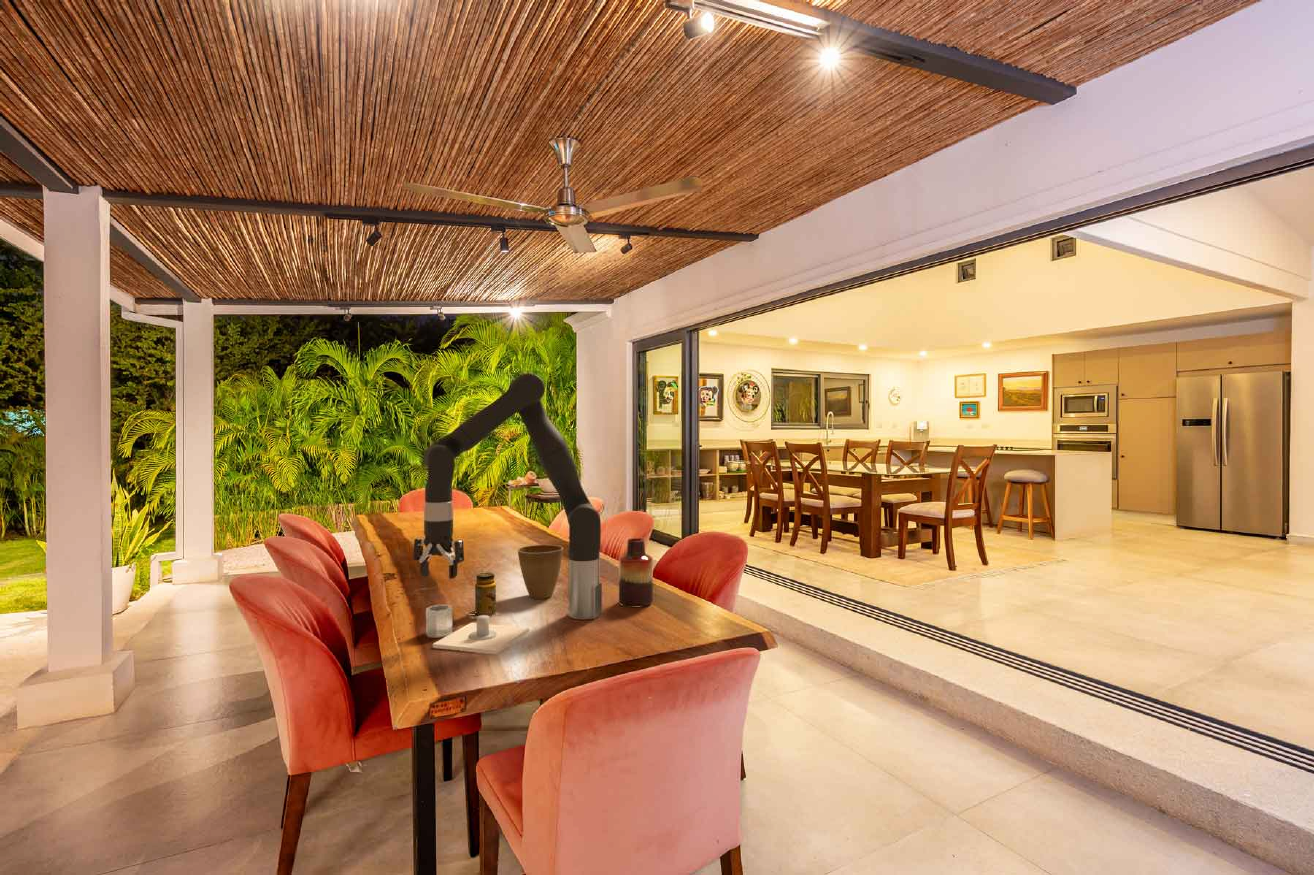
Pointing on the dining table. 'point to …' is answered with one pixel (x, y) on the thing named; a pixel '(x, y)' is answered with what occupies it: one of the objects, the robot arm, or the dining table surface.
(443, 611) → the collar
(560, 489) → the robot arm
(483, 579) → the condiment
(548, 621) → the dining table surface
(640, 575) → the vase
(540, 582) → the plant pot
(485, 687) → the dining table surface
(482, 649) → the duct flange
